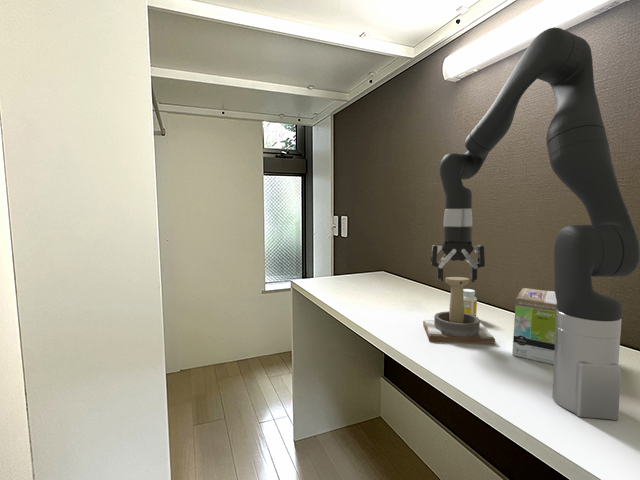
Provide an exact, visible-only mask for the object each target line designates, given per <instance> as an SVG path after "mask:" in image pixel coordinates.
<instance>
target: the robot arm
mask: <svg viewBox="0 0 640 480" xmlns="http://www.w3.org/2000/svg"><path fill="white" fill-rule="evenodd" d="M592 54H593V53H592V48H591V46H590V44H589V43H588V42H587V41H586V40H585V39H584V38H583V37H581V36H578V35H577V34H574V33H572V32H570V31H568V30H565V29H563V28H560V27H550V28H548V29H545V30H543V31H542V32H540V33H539V34H538V35H537V36H536V37H535V38H534V39H533V40H532V42H531V43H530V44H529V45H528V46H527V48H526V50H524V52H523V54H522V55H521V57H519V60H518V62H517V63H516V65H515V67H514V69H513V70H512V72H511V73H510V75H509V76H508V78H507V80H506V81H505V82H504V85H503V86H502V88H501V90H500V91H499V93H498V94H497V96H496V98H495V100H494V101H493V102H492V104H491V105H490V107H489V109H488V110H487V112H486V113H485V114H484V115H483V117H482V118H481V119H480V120H479V121H478V123H477V124H476V125H475V127H474V128H473V129H472V130H471V131H470V133H469V134H468V135H467V137H466V139H465V140H464V146H465V149H466V150H467V151H466V152H465V153H458V152H450V153H447V154H445V155H444V156H443V158H442V159H441V162H440V164H439V176H440V181H441V184H442V189H443V191H444V214H443V223H442V224H443V239H442V240H443V242H442V245H436V244H432V245H431V253H430V265H431V266H433V267H436V278H437V279H438V280H439V282H444V268H443V267H444V266H445V265H446V264H447V263H448V262H449V261H452V262H453V261H461V262H462V261H466V263H468V265H469V267H470V269H469V282H471V283H475V281H477V279H478V269H479V268H484V267H485V266H486V263H485V260H486V259H485V258H486V257H485V246H484V245H481V244H477V245H473V241H472V240H473V213H472V211H473V210H472V208H473V207H472V203H473V202H472V200H473V199H472V198H473V195H472V190H471V189H470V188H469V187H466V186H464V184H463V181H462V180H469V179H472V177H474V176H475V175H477V174H478V172H479V171H480V169H482V166H483V165H484V163H485V162H486V159H487V157H488V155H489V153H490V152H491V151H492V150H493V149H494V147H496V146H497V145H498V144H499V143H500V141H501V140H502V139H503V138H504V137H505V135H506V134H507V133H508V132H509V129H510V128H511V126H512V123H513V120H514V118H515V114H516V111H517V108H518V105H519V102H520V100H521V99H522V97H523V95H524V94H525V92H526V91H527V90H528V89H529V87H531V86H532V84H534V83H535V81H536V80H540V81H543V82H545V83H548V84H549V86H550V87H551V89H552V92H553V95H554V102H555V107H556V109H555V113H554V115H553V117H552V119H551V121H550V122H549V126H548V129H547V133H546V139H545V141H546V148H547V152H548V158H549V163H550V166H551V170H552V171H553V173H554V174H555V175H556V176H557V178H558V179H559V180H560V181H561V182H562V183H563V184H564V185H565V187H567V188H568V189H569V190H570V191H571V192H572V193H573V194H574V195H575V196H576V197H577V198H578V199H579V200H580V202H581V203H582V204H583V206H584V208H585V209H586V212H587V215H588V217H589V219H590V223H591V224H571V225H570V224H569V225H567V226H566V225H565V227H563V228H561V229H560V230H559V232H558V234H556V238H555V242H554V246H553V266H554V267H553V268H554V269H553V271H554V273H553V274H554V276H553V277H554V278H553V279H554V285H553V287H554V292H555V296H556V300H557V310H556V329H555V350H554V364H553V374H552V375H553V379H552V399H553V400H554V402H556V403H557V404H558V405H559V406H560V407H562V408H564V409H566V410H568V411H570V412H572V413H574V414H575V415H576V416H578V417H580V418H589V419H590V418H591V419H599V420H600V419H602V420H603V419H604V420H615V421H618V420H619V414H620V413H619V412H620V411H619V410H620V396H621V383H622V382H621V379H622V378H621V377H622V367H621V365H619V362H620V346H621V334H622V332H621V331H622V318H623V317H622V316H623V306H622V303H621V302H620V300H618V299H616V298H614V297H611V296H609V295H605V294H602V293H599V292H597V291H596V290H595V289H594V288H593V279H592V277H594V278H595V277H596V278H598V277H599V278H600V277H603V278H604V277H605V278H606V277H608V278H609V277H610V278H615V277H618V278H619V277H626V276H629V275H631V274H633V272H635V271H636V269H637V267H638V266H639V262H640V244H639V243H640V242H639V239H638V235H637V233H636V232H637V231H636V230H635V227H634V224H633V221H632V219H631V217H630V213H629V211H628V209H627V206H626V204H625V201H624V199H623V196H622V193H621V190H620V187H619V183H618V180H617V176H616V173H615V168H614V164H613V160H612V156H611V149H610V145H609V141H608V136H607V133H606V128H605V127H606V126H605V124H604V122H603V119H602V118H603V117H602V114H601V109H600V108H601V107H600V104H599V99H598V96H597V93H596V92H597V91H596V88H595V87H596V86H595V78H594V65H593V55H592ZM440 251H442V252H443V256H442V257H440V260H439V261H438V262H437V260H438V259H437V257H438V254H439V253H440ZM473 251H474V253H476V255H477V262H476V261H475V260H474V258H473V257H472V256H471V254H472V252H473Z"/></svg>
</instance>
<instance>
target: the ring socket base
mask: <svg viewBox="0 0 640 480" xmlns="http://www.w3.org/2000/svg"><path fill="white" fill-rule="evenodd" d="M433 317H434V319H424V320H423V321H422V324H423V328H424V331H425V333H426V336H427V339H428V341H429V342H438V343H456V344H459V343H460V344H477V345H478V344H479V345H496V339H495V337H494V336H493V334H491V332H490V331H489V330H488V329H487V328H486V326H484V324H483V323H482V322H480V321H481V320H480V319H479V317H478V316H477V315H476V316H473V315H471V314H467V313H464V320H463V323H453V322H450V317H449V311H440V312H437V313H435V314H434V316H433Z"/></svg>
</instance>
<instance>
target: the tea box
mask: <svg viewBox="0 0 640 480" xmlns="http://www.w3.org/2000/svg"><path fill="white" fill-rule="evenodd" d="M514 306H515V308H514V323H513V325H514V326H513V338H512V339H513V340H512V356H515V357H519V358H522V359H527V360H532V361H535V362H540V363H541V362H542V363H545V364H549V365H554V350H555V329H556V310H557V300H556V296H555V290H553V291H552V290H545V289H544V290H543V289H536V288H528V287H527V288H526V287H522V289H521V290H520V292H519V293H518V295H517V296H516V297H515V305H514Z"/></svg>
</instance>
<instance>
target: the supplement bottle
mask: <svg viewBox="0 0 640 480" xmlns="http://www.w3.org/2000/svg"><path fill="white" fill-rule="evenodd" d="M475 295H476V291H475V290H474V289H470V288H464V289H463V296H464V313H467V314H471V315H473V316H476V317H477V311H478V310H477V304H478V298H477V297H476V296H475Z"/></svg>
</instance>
